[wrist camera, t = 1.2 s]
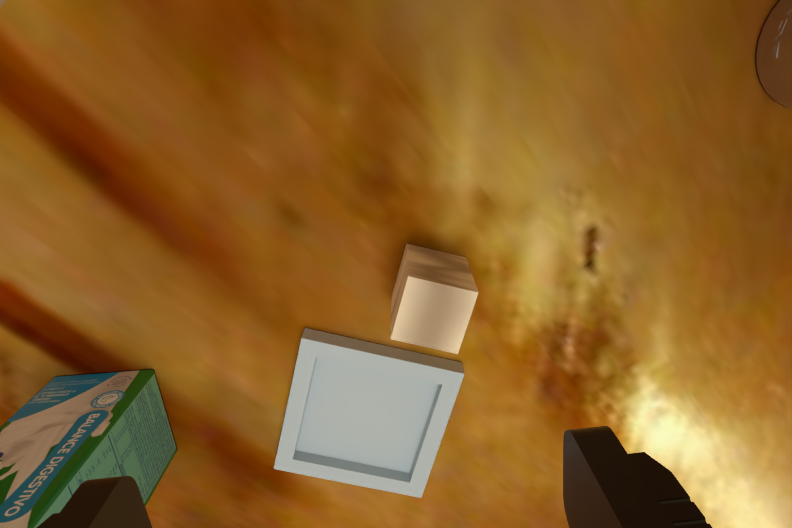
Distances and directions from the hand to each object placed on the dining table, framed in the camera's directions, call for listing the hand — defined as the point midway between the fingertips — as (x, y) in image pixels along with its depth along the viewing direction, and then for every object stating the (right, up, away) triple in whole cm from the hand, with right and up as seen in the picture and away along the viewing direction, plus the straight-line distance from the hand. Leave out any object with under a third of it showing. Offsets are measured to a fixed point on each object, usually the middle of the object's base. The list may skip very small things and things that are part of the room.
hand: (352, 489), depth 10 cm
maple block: (+3, +3, +33) cm, 34 cm away
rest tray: (-2, -9, +38) cm, 39 cm away
